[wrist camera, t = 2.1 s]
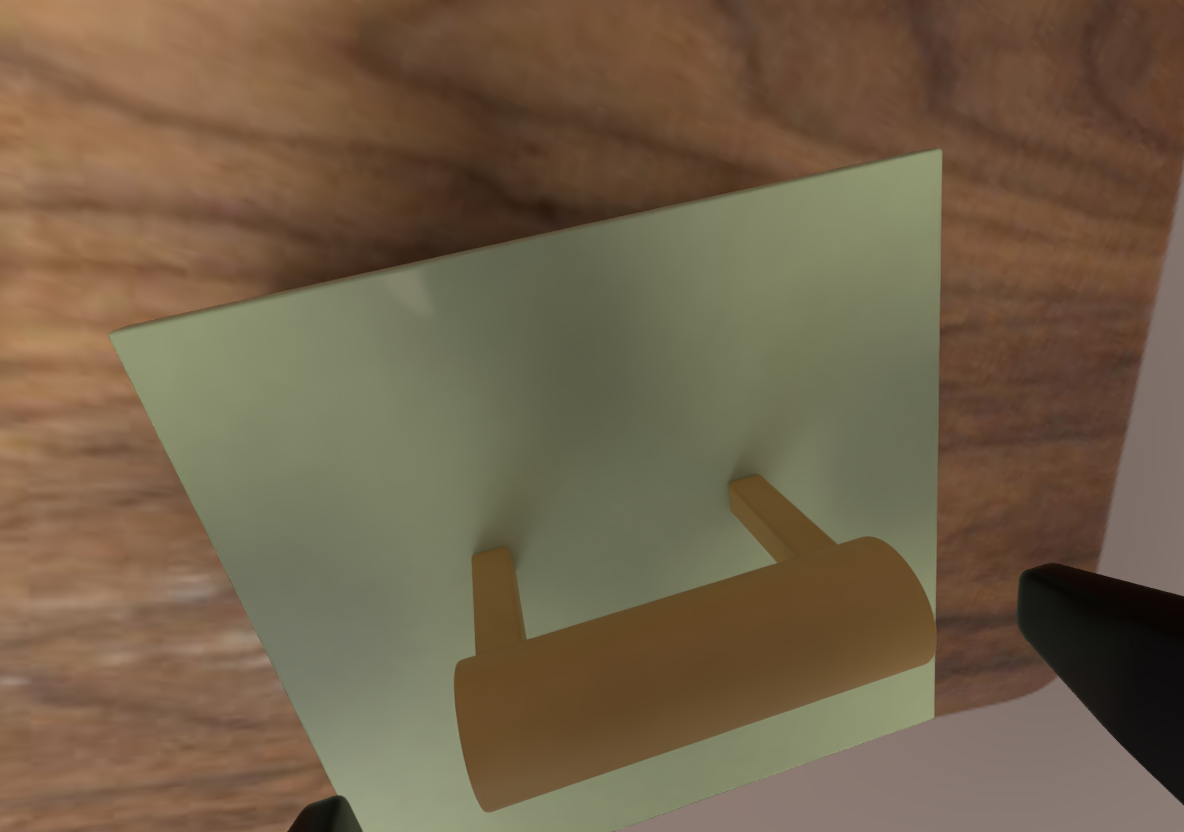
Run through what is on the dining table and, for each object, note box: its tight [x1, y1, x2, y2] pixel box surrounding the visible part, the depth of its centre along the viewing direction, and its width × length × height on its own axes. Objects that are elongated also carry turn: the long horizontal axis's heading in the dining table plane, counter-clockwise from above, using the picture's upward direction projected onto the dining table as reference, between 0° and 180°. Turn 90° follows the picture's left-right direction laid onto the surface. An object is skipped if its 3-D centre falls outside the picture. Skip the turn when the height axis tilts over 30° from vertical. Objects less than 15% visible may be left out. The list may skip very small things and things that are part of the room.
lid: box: [109, 148, 942, 832], centre depth 10 cm, size 13×14×5 cm
